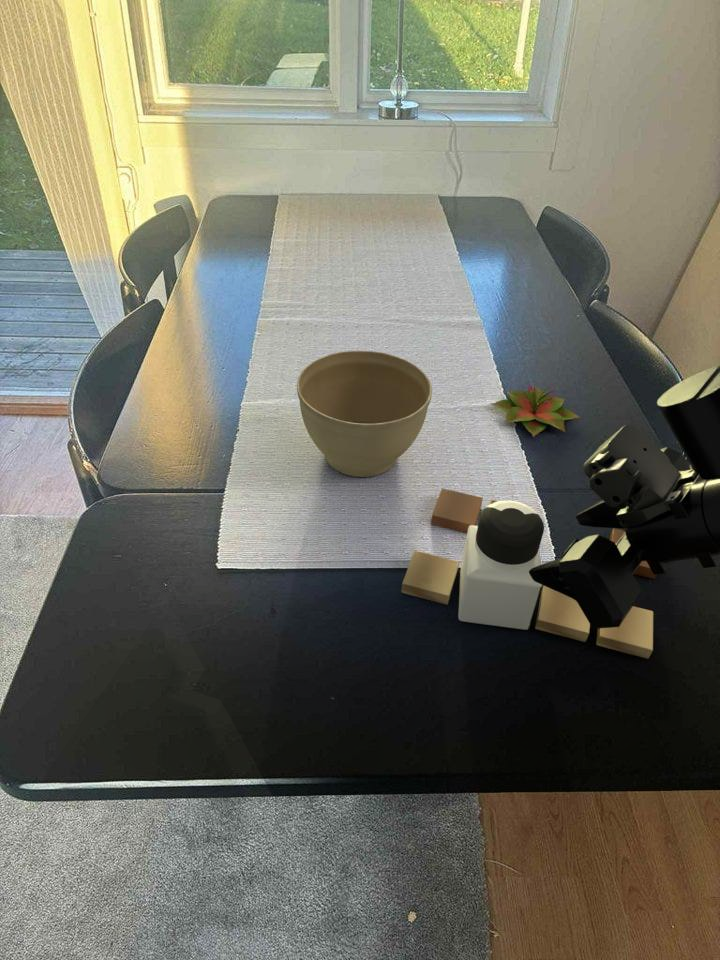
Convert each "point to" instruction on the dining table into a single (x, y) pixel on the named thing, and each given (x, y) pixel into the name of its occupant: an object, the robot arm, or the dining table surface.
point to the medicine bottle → (501, 566)
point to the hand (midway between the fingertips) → (556, 546)
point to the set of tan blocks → (554, 613)
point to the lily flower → (535, 409)
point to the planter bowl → (363, 409)
